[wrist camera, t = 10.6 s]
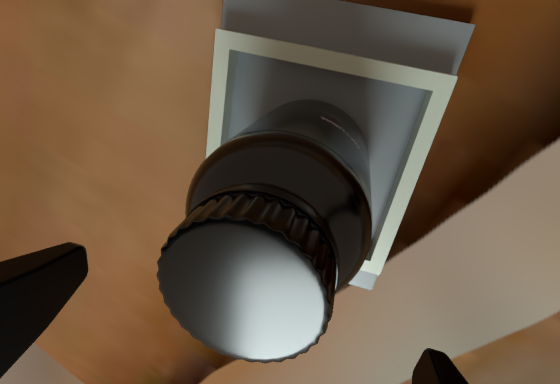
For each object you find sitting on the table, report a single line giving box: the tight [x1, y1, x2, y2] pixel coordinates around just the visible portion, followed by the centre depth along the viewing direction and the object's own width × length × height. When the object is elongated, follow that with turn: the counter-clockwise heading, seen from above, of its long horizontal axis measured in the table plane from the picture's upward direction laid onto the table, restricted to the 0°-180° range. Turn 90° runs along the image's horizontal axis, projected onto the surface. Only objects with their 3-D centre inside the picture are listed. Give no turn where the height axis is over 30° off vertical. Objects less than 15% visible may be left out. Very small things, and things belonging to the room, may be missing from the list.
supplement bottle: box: [157, 99, 373, 363], centre depth 14 cm, size 7×7×12 cm
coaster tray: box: [206, 0, 475, 290], centre depth 19 cm, size 12×16×2 cm
